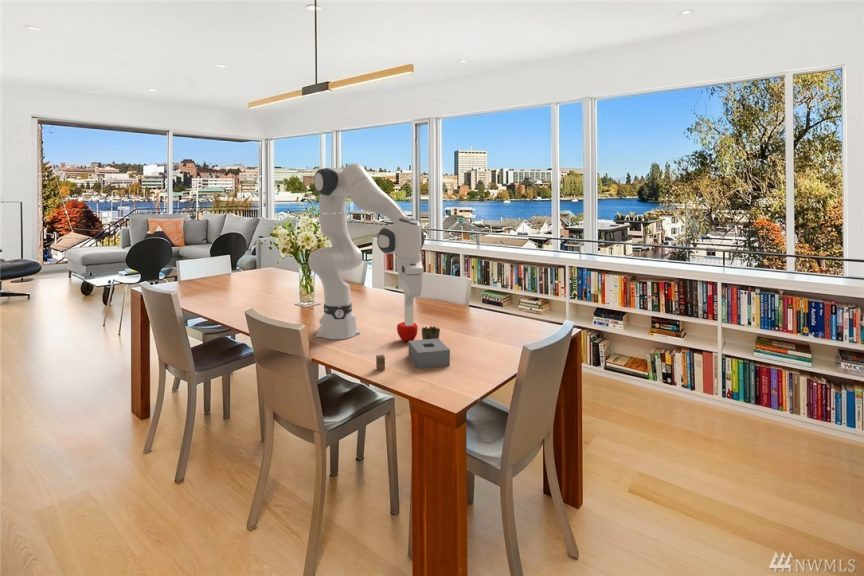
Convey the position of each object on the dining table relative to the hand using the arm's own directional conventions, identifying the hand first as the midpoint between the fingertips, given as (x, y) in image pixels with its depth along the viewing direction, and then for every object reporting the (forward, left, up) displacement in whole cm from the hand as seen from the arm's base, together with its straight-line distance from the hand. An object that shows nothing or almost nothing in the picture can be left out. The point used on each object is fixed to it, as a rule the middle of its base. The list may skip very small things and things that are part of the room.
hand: (408, 303), depth 168 cm
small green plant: (-17, +13, -23) cm, 32 cm away
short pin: (+1, -11, -23) cm, 26 cm away
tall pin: (0, 0, -8) cm, 8 cm away
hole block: (-3, +8, -23) cm, 25 cm away
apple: (-28, +6, -23) cm, 37 cm away
